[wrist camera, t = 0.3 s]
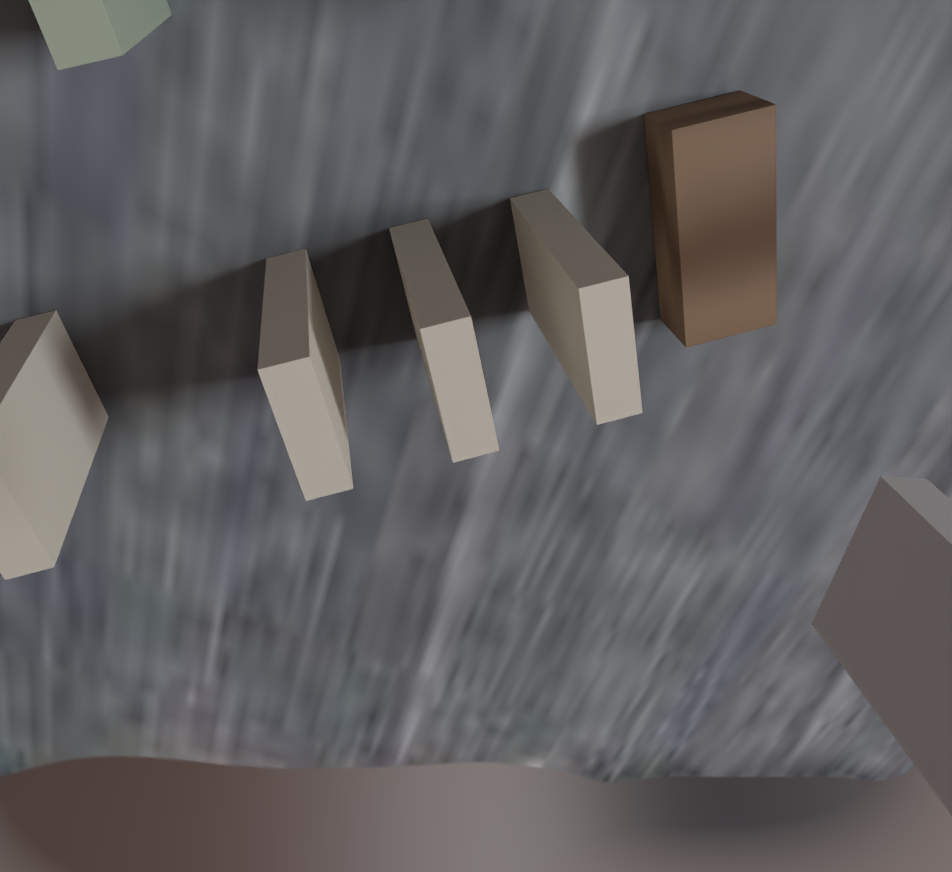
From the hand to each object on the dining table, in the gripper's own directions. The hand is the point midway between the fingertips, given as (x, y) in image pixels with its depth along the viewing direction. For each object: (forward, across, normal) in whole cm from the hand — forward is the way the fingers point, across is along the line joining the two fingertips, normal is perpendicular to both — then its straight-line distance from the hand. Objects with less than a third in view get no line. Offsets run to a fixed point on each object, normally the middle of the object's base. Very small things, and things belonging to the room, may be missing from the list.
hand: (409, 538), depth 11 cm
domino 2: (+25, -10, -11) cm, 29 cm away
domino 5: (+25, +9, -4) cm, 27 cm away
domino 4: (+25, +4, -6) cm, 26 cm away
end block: (+25, +15, -1) cm, 30 cm away
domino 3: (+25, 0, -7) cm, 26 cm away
